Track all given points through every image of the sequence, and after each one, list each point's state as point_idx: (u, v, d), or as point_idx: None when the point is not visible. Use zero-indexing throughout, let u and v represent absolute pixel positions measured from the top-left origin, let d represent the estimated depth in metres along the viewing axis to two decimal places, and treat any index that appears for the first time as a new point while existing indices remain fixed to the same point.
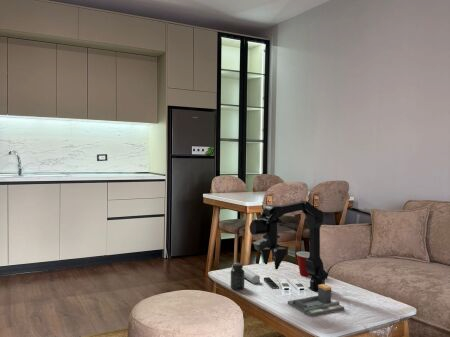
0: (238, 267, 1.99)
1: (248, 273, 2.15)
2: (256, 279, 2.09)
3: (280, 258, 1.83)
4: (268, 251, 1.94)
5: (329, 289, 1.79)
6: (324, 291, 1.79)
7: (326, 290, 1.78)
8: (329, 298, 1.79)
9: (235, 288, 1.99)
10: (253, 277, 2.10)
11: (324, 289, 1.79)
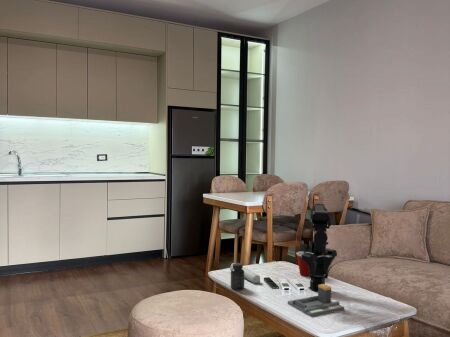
0: (238, 267, 1.99)
1: (248, 273, 2.14)
2: (257, 279, 2.09)
3: (312, 265, 1.80)
4: (328, 260, 1.87)
5: (329, 289, 1.79)
6: (324, 291, 1.79)
7: (326, 290, 1.78)
8: (329, 298, 1.79)
9: (235, 288, 1.99)
10: (253, 277, 2.10)
11: (324, 289, 1.79)
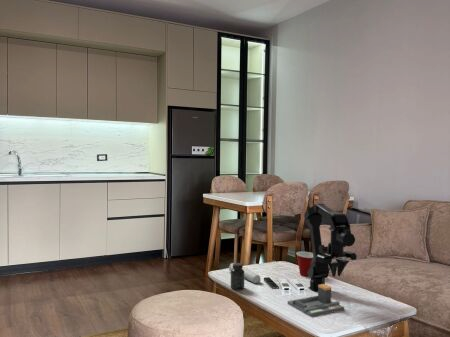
0: (238, 267, 1.99)
1: (248, 273, 2.14)
2: (257, 279, 2.09)
3: (333, 266, 1.81)
4: (342, 263, 1.83)
5: (329, 289, 1.79)
6: (324, 291, 1.79)
7: (326, 290, 1.78)
8: (329, 298, 1.79)
9: (235, 288, 1.99)
10: (254, 277, 2.10)
11: (324, 289, 1.79)
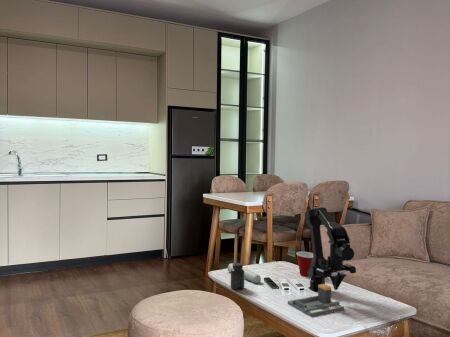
0: (238, 267, 1.99)
1: (248, 273, 2.14)
2: (258, 279, 2.10)
3: (334, 279, 1.82)
4: (339, 277, 1.82)
5: (329, 289, 1.79)
6: (324, 291, 1.79)
7: (326, 290, 1.78)
8: (329, 298, 1.79)
9: (235, 288, 1.99)
10: (254, 277, 2.10)
11: (324, 289, 1.79)
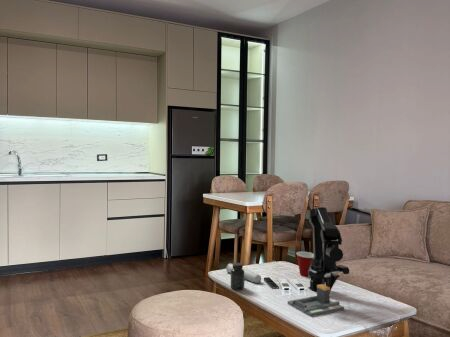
0: (238, 267, 1.99)
1: (248, 273, 2.14)
2: (258, 279, 2.10)
3: (328, 280, 1.80)
4: (332, 278, 1.80)
5: (328, 289, 1.78)
6: (323, 291, 1.78)
7: (325, 290, 1.78)
8: (328, 298, 1.79)
9: (235, 288, 1.99)
10: (255, 277, 2.10)
11: (323, 289, 1.78)
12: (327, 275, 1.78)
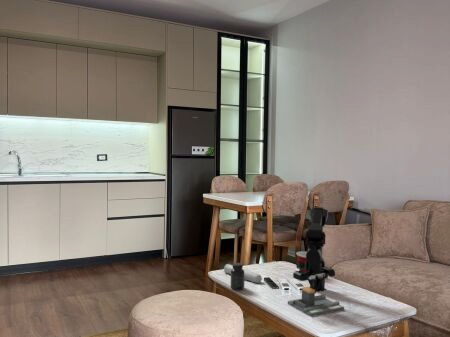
0: (238, 267, 1.99)
1: (248, 273, 2.14)
2: (259, 278, 2.10)
3: (312, 282, 1.76)
4: (317, 280, 1.77)
5: (313, 292, 1.75)
6: (307, 294, 1.75)
7: (309, 293, 1.74)
8: (313, 301, 1.75)
9: (235, 288, 1.99)
10: (256, 277, 2.10)
11: (307, 292, 1.75)
12: (312, 277, 1.75)
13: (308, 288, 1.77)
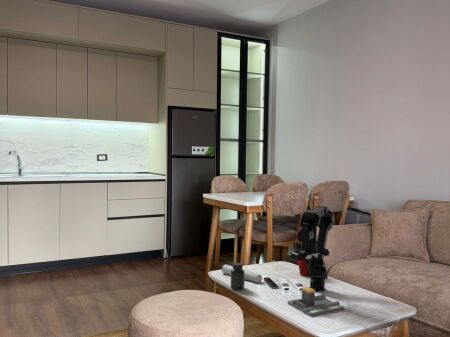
0: (238, 267, 1.99)
1: (248, 273, 2.14)
2: (260, 278, 2.11)
3: (309, 262, 1.89)
4: (313, 260, 1.89)
5: (312, 292, 1.75)
6: (307, 294, 1.75)
7: (309, 293, 1.74)
8: (312, 301, 1.75)
9: (235, 288, 1.99)
10: (257, 277, 2.10)
11: (307, 292, 1.75)
12: (308, 257, 1.87)
13: (308, 288, 1.77)
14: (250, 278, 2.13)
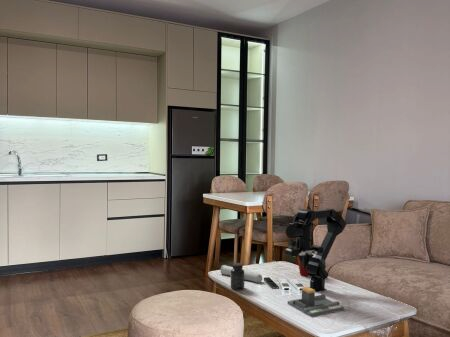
0: (238, 267, 1.99)
1: (248, 273, 2.14)
2: (260, 278, 2.11)
3: (303, 258, 1.93)
4: (307, 257, 1.94)
5: (312, 292, 1.75)
6: (307, 294, 1.75)
7: (309, 293, 1.74)
8: (312, 301, 1.75)
9: (235, 288, 1.99)
10: (257, 276, 2.11)
11: (307, 292, 1.75)
12: (302, 254, 1.92)
13: (308, 288, 1.77)
14: (250, 278, 2.13)
